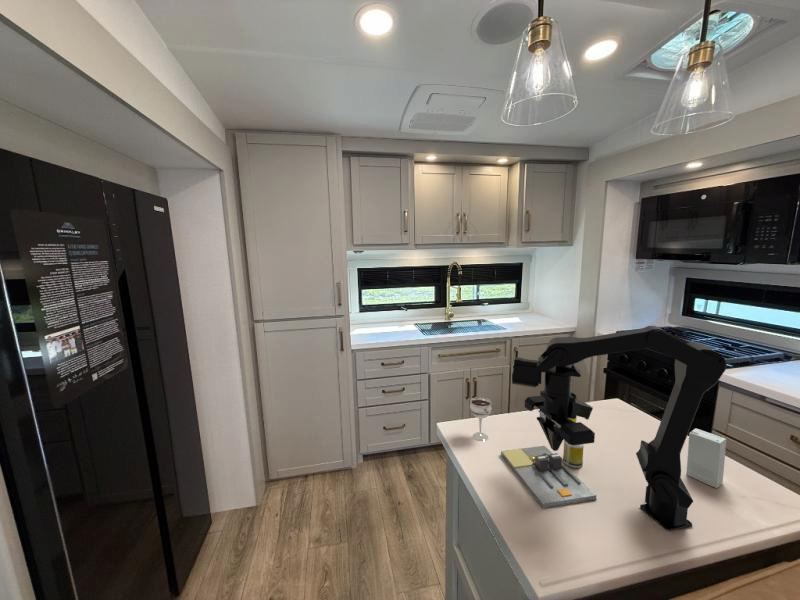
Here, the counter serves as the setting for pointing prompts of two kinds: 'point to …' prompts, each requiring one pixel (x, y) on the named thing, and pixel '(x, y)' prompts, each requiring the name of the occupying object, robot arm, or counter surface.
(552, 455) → the toggle
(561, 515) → the counter surface
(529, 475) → the breaker panel
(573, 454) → the supplement bottle
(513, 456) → the pad
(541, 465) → the toggle
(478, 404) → the wineglass
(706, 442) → the skincare box
